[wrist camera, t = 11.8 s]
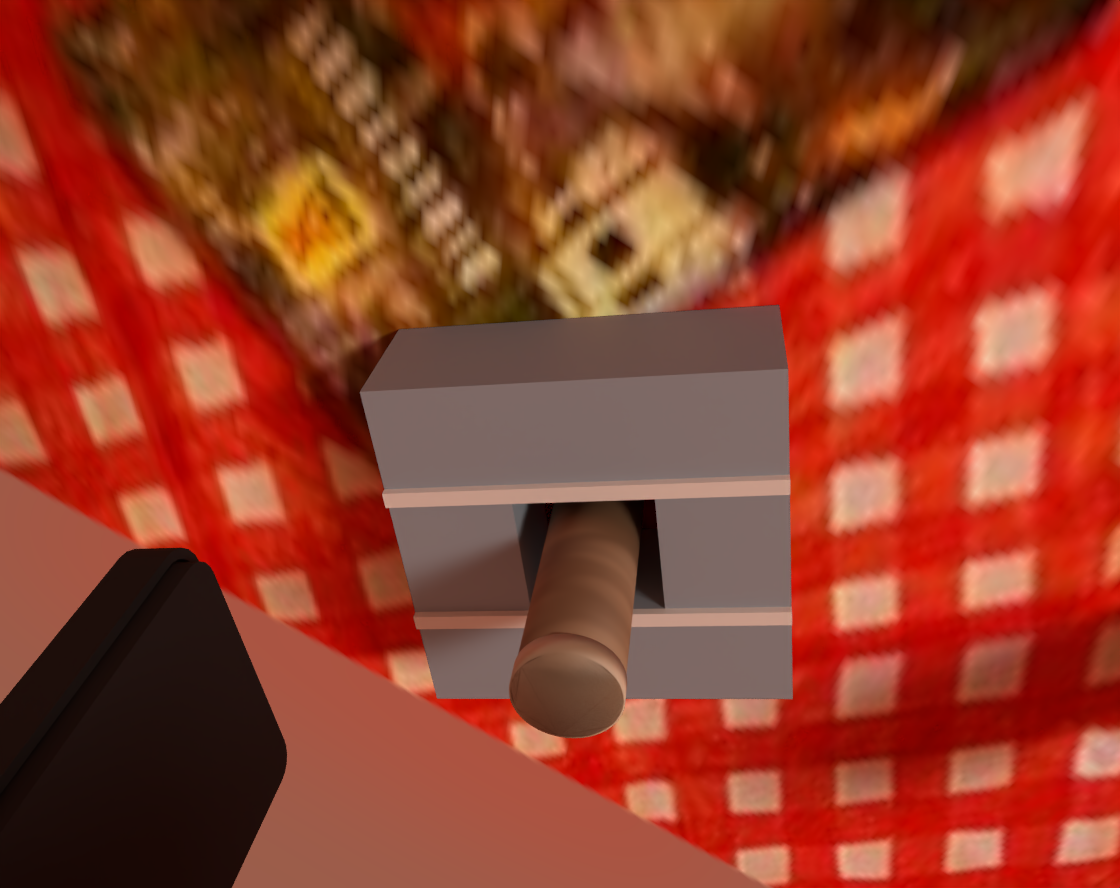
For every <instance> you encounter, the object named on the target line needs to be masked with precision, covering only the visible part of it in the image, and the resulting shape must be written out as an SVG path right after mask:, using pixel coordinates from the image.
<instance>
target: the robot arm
mask: <svg viewBox="0 0 1120 888" xmlns="http://www.w3.org/2000/svg"><path fill="white" fill-rule="evenodd" d="M286 762H287V750H286V744H285V741H284V739H283V736H282V733H281V731H280V729H279V726H278V724H277V722H276V719H275V717H274V714H273V712H272V710H271V707H270V705H269V703H268V700H267V698H266V696H265V693H264V691H263V688H262V686H261V684H260V681H259V679H258V677H257V674H256V672H255V670H254V667H253V665H252V662H251V660H250V658H249V655H248V653H247V651H246V648H245V646H244V643H243V641H242V639H241V636H240V634H239V632H238V629H237V627H236V625H235V622H234V620H233V617H232V615H231V613H230V610H229V608H228V605H227V603H226V601H225V598H224V596H223V594H222V591H221V589H220V586H219V584H218V582H217V579H216V577H215V575H214V572H213V571H212V569H211V567H210V566H209V565H208V564H206V563H205V562H200V561H198V559H197V557H196V555H195V554H194V553H192V552H191V551H190V550H189V549H185V548H156V549H134V550H131V551H127V552H126V553H125V554H124V555H122V556H121V557H120V558H119V559H118V561H117V562H116V563H115V564H114V566H113V567H112V568H111V569H110V570H109V572H108V573H107V574H106V575H105V577H104V578H103V579H102V580H101V581H100V583H99V584H98V585H97V586H96V588H95V589H94V590H93V591H92V592H91V594H90V595H89V596H88V597H87V598H86V600H85V601H84V602H83V603H82V605H81V606H80V607H79V608H78V610H77V611H76V612H75V613H74V614H73V616H72V617H71V618H70V619H69V621H68V622H67V623H66V625H65V626H64V627H63V628H62V629H61V630H60V632H59V633H58V634H57V635H56V636H55V638H54V639H53V640H52V641H51V643H50V644H49V645H48V646H47V648H46V649H45V650H44V651H43V653H42V654H41V655H40V656H39V657H38V659H37V660H36V661H35V662H34V663H33V665H32V666H31V667H30V668H29V670H28V671H27V672H26V673H25V674H24V676H23V677H22V678H21V679H20V681H19V682H18V683H17V684H16V686H15V687H14V688H13V689H12V691H11V692H10V693H9V694H8V695H7V697H6V698H5V699H4V700H3V701H2V703H1V704H0V888H232V886H233V884H234V881H235V879H236V877H237V875H238V873H239V871H240V868H241V867H242V864H243V862H244V860H245V858H246V856H247V854H248V851H249V850H250V847H251V845H252V843H253V841H254V839H255V837H256V834H257V832H258V830H259V828H260V826H261V824H262V822H263V820H264V817H265V815H266V813H267V811H268V809H269V807H270V805H271V803H272V800H273V798H274V796H275V794H276V792H277V790H278V788H279V785H280V783H281V781H282V779H283V776H284V773H285V769H286Z"/></svg>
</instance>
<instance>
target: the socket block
mask: <svg viewBox="0 0 1120 888" xmlns="http://www.w3.org/2000/svg"><path fill="white" fill-rule="evenodd" d="M360 395H361V399H362V403H363V407H364V411H365V415H366V419H367V423H368V427H369V431H370V435H371V439H372V443H373V447H374V451H375V454H376V458H377V462H378V466H379V470H380V474H381V478H382V482H383V486H384V491H383V493H382V496H383V500H384V504H385V508H389V510H390V514H391V518H392V522H393V526H394V530H395V534H396V538H397V541H398V545H399V549H400V553H401V557H402V561H403V565H404V569H405V573H406V577H407V581H408V585H409V589H410V593H411V597H412V601H413V605H414V609H415V614H414V617H413V618H414V622H415V626H416V629H420V632H421V636H422V640H423V644H424V648H425V652H426V656H427V660H428V664H429V668H430V672H431V676H432V680H433V684H434V688H435V692H436V696H437V698H449V699H510V696H509V684H510V679H511V675H512V671H513V667H514V663H515V660H516V657H517V655H518V653H519V649H520V644H521V640H522V636H523V632H524V627H525V623H526V619H527V615H528V611H529V606H530V602H531V598H532V594H533V589H534V585H535V581H536V577H537V573H538V568H539V564H540V560H541V556H542V552H543V547H544V543H545V539H546V535H547V530H548V521H547V515H546V509H545V503H557V502H588V501H618V500H649V499H655V506H656V517H657V528H658V529H641V537H640V547H639V557H638V567H637V576H636V586H635V596H634V606H633V615H632V625H631V635H630V645H629V654H628V664H627V674H626V675H627V690H626V699H793V691H792V608H791V547H790V474H789V402H788V365H787V358H786V351H785V344H784V337H783V330H782V323H781V315H780V308H779V305H771V306H755V307H740V308H724V309H709V310H693V311H678V312H662V313H647V314H632V315H616V316H601V317H585V318H570V319H554V320H539V321H523V322H508V323H492V324H477V325H461V326H446V327H430V328H415V329H399V330H398V332H397V333H396V335H395V337H394V338H393V340H392V341H391V343H390V344H389V346H388V348H387V349H386V351H385V352H384V354H383V356H382V357H381V359H380V360H379V362H378V364H377V365H376V367H375V368H374V370H373V371H372V373H371V375H370V376H369V378H368V379H367V381H366V383H365V384H364V386H363V387H362V389H361V391H360Z"/></svg>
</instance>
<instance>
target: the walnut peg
mask: <svg viewBox="0 0 1120 888" xmlns="http://www.w3.org/2000/svg"><path fill="white" fill-rule="evenodd" d="M643 508H644V500H618V501H588V502H557V503H554V505H553V509H552V514H551V518H550V522H549V526H548V530H547V535H546V539H545V543H544V547H543V552H542V556H541V560H540V564H539V568H538V573H537V577H536V581H535V585H534V589H533V594H532V598H531V602H530V606H529V611H528V615H527V619H526V623H525V627H524V632H523V636H522V640H521V644H520V649H519V653H518V655H517V657H516V660H515V663H514V667H513V671H512V675H511V679H510V684H509V696H510V700H511V703H512V705H513V707H514V709H515V710H516V712H517V713H518V714H519V715H520V716H521V718H523V719H524V720H525V721H526V722H527V723H529V724H530V725H531V726H533V727H535V728H536V729H538V730H540V731H542V732H545V733H548V734H550V735H554V736H558V737H565V738H584V737H590V736H594V735H597V734H599V733H602V732H604V731H606V730H608V729H609V728H610V727H612V726H613V725H614V724H615V723H616V722H617V721H618V720H619V718H620V717H621V715H622V713H623V711H624V708H625V700H626V690H627V675H626V674H627V664H628V654H629V645H630V635H631V625H632V615H633V606H634V596H635V586H636V576H637V567H638V557H639V547H640V537H641V528H642V518H643Z"/></svg>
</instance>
